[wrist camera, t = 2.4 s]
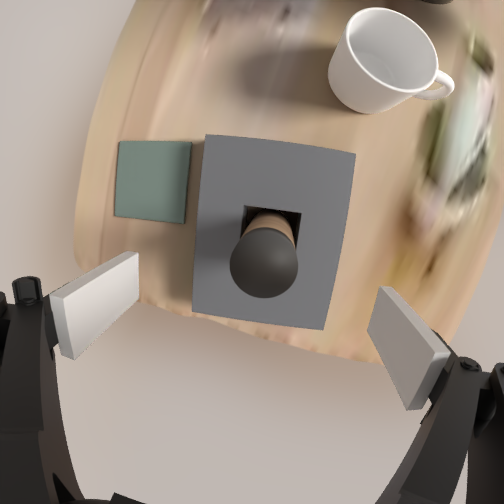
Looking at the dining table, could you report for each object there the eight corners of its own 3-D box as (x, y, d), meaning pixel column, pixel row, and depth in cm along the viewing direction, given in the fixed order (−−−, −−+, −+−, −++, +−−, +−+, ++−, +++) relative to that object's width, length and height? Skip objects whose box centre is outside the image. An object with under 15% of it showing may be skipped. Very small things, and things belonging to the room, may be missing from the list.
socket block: (214, 139, 29) (205, 134, 25) (346, 156, 28) (355, 153, 24) (201, 296, 34) (191, 311, 30) (318, 313, 33) (323, 330, 29)
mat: (121, 141, 30) (120, 141, 30) (192, 142, 29) (191, 142, 29) (116, 215, 32) (114, 216, 32) (184, 223, 32) (183, 223, 31)
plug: (252, 206, 31) (233, 228, 18) (293, 212, 30) (303, 237, 18) (247, 246, 32) (226, 293, 19) (287, 252, 32) (292, 302, 19)
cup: (331, 41, 25) (349, -5, 15) (426, 75, 24) (470, 48, 15) (320, 103, 27) (339, 72, 17) (420, 136, 27) (470, 125, 17)
